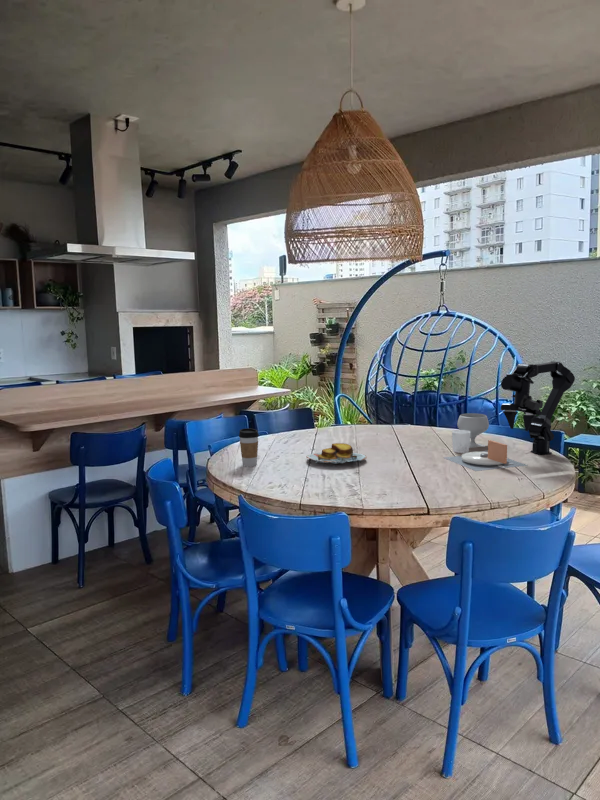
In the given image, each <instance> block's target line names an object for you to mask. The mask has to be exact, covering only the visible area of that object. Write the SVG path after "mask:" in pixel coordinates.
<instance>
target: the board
mask: <svg viewBox="0 0 600 800" xmlns="http://www.w3.org/2000/svg"><path fill="white" fill-rule="evenodd" d="M443 459H446V460H448V461H449V462H452V463H455V464H458V465H460V466H463V467H464V468H466V469H469V470H472V471H475V472H480V471H489V470H498V469H499V470H500V469H506V468H507V469H508V468H517V467H523V466H524V467H525V466H527V467H528V464H526V463H522V462H519V461H517V460H514V459H510V458H508V457H507V463H506V464H500V465H476V464H471V463H467V462H464V461H462V455H455V456H447V457H445V456H444V457H443Z"/></svg>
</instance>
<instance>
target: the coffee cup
mask: <svg viewBox="0 0 600 800" xmlns="http://www.w3.org/2000/svg"><path fill="white" fill-rule="evenodd" d="M238 437H239V448H240V454H241V461H242V466H243V467H247V466H248V467H250V466H251V467H255V465H256V466H257V464H258V450H259V437H260V435H259V430H258V429H255V428H250V427H249V428H241V429H239V434H238ZM251 467H250V468H251Z"/></svg>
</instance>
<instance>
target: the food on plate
mask: <svg viewBox="0 0 600 800" xmlns="http://www.w3.org/2000/svg"><path fill="white" fill-rule="evenodd" d="M321 450H322V451H321V452H316V453H309V454H308V455H307V456H306V461H307V460H308V459H309V460H313V461H315V464H317V463H323V464H324V463H325V464H329V463H331V464H344V463H346V462H350V463H354V462H360V461H363V460H367V459H368V458H367V455H365V454H362V453H356V452H354V448H353V446H352V445H351V444H349V443H343V442H342V443H340V442H337V443H331V447H328V448H323V449H321Z"/></svg>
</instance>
